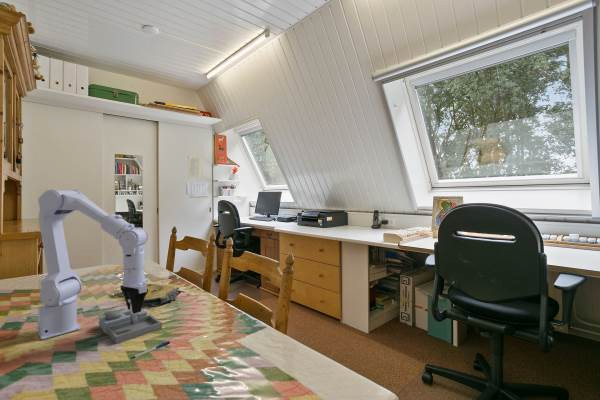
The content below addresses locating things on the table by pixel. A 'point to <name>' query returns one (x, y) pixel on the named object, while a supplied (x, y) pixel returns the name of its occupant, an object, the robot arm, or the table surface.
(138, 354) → the ballpoint pen
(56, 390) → the table surface
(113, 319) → the block
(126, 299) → the robot arm
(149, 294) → the pulley block
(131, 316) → the lock pin
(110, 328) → the tray
